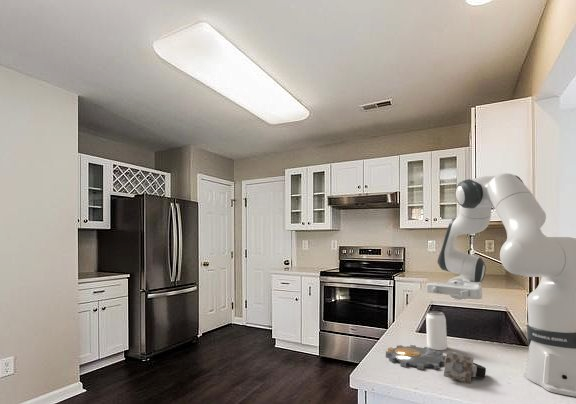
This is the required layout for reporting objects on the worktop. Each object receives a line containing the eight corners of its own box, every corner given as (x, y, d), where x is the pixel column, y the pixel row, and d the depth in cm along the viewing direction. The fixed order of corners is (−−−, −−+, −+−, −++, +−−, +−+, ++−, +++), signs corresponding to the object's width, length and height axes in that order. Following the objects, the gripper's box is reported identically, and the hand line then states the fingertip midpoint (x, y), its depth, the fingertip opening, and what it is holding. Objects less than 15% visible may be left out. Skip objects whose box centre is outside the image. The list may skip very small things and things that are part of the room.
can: (437, 344, 126) (435, 310, 127) (451, 349, 120) (449, 314, 121) (423, 346, 123) (421, 311, 125) (436, 352, 117) (435, 315, 119)
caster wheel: (479, 381, 100) (489, 390, 91) (437, 368, 104) (443, 376, 94) (482, 357, 102) (493, 364, 92) (441, 345, 105) (447, 351, 95)
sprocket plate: (457, 357, 112) (457, 353, 112) (435, 375, 98) (435, 370, 98) (401, 345, 125) (401, 340, 125) (375, 358, 111) (374, 354, 111)
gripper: (432, 277, 150) (419, 281, 140) (485, 282, 136) (475, 287, 126) (433, 292, 149) (420, 297, 139) (486, 299, 135) (475, 304, 125)
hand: (446, 292), depth 132 cm, fingers open, 8 cm apart
